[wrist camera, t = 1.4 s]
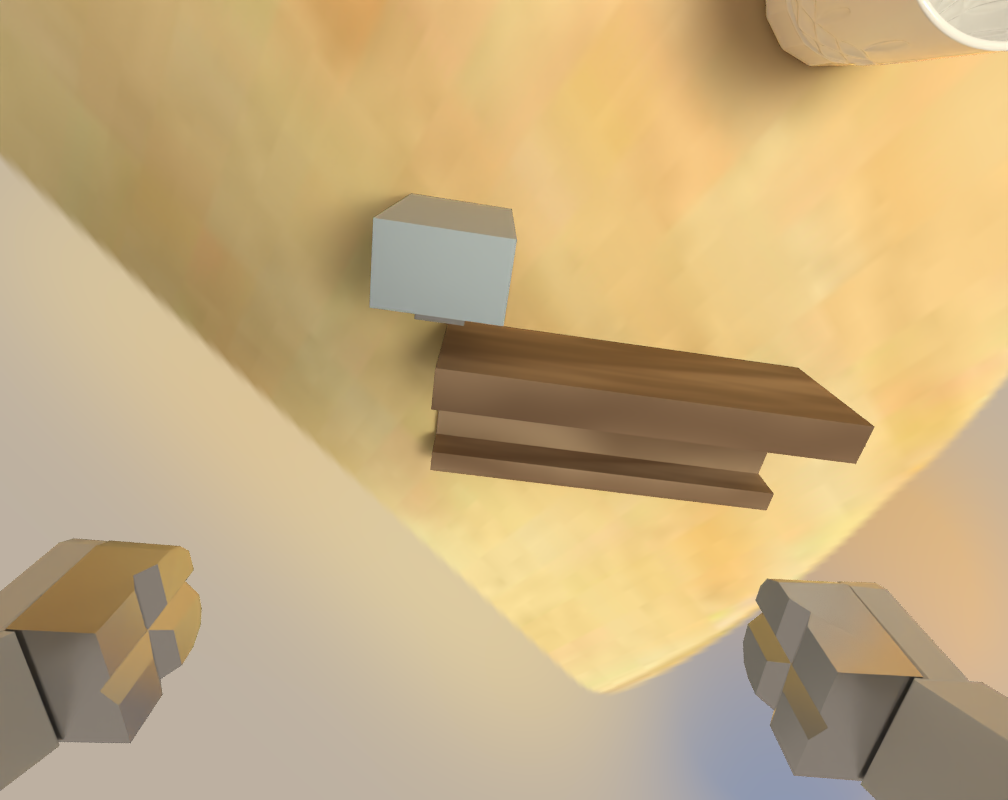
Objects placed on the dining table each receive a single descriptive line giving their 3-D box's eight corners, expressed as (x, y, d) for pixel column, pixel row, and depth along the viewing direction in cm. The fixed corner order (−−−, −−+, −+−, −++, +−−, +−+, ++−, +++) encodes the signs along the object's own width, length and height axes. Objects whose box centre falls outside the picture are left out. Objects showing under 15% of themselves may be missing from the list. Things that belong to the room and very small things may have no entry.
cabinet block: (411, 193, 27) (373, 217, 19) (511, 209, 27) (516, 239, 19) (405, 271, 28) (368, 325, 20) (500, 285, 29) (500, 343, 21)
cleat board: (449, 318, 30) (435, 368, 23) (798, 367, 31) (874, 426, 25) (435, 447, 33) (420, 520, 27) (748, 486, 34) (804, 563, 28)
